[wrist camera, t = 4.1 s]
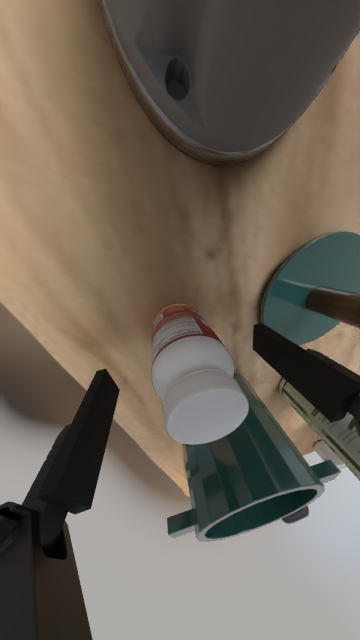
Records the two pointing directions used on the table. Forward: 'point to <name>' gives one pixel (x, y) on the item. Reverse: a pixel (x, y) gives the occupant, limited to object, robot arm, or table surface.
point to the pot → (247, 477)
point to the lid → (315, 289)
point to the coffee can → (327, 428)
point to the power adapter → (328, 454)
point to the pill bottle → (194, 378)
